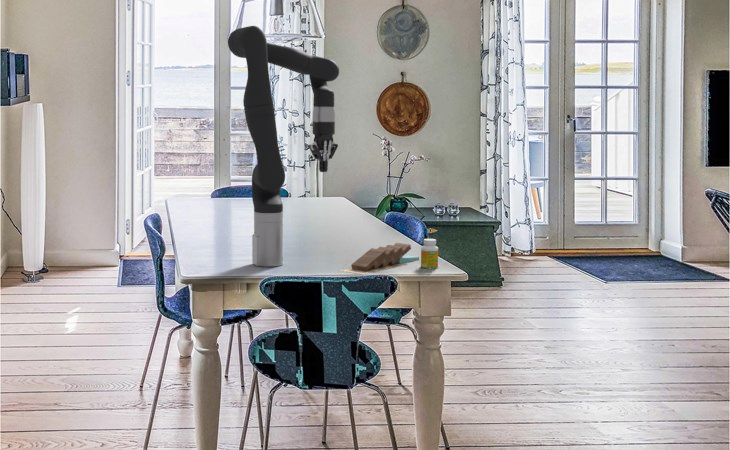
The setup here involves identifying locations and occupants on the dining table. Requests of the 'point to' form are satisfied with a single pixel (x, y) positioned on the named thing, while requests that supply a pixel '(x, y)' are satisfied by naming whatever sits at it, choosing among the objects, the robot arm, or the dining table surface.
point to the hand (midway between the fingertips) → (323, 171)
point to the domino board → (371, 269)
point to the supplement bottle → (429, 254)
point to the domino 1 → (368, 259)
